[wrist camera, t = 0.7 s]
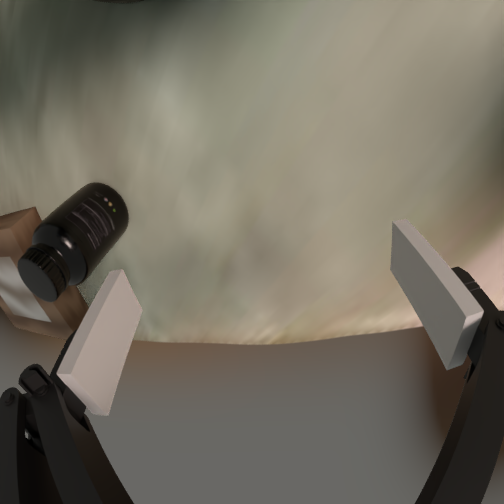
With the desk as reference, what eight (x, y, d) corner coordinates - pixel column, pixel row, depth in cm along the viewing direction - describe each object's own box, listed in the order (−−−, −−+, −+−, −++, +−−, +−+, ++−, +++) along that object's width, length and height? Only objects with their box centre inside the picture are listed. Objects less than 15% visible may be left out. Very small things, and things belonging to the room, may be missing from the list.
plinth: (-22, 222, 38) (-41, 239, 34) (35, 206, 33) (9, 228, 29) (29, 309, 49) (15, 327, 45) (96, 319, 44) (81, 343, 40)
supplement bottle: (108, 244, 34) (49, 318, 24) (71, 200, 31) (1, 265, 21) (143, 218, 30) (77, 300, 21) (101, 167, 28) (19, 234, 18)
